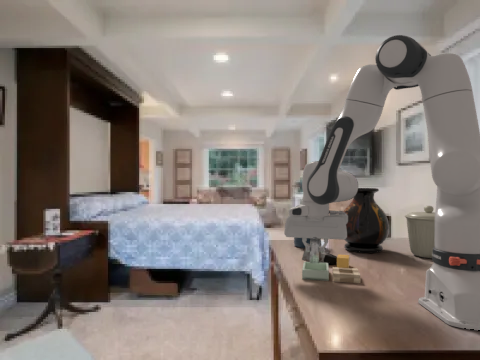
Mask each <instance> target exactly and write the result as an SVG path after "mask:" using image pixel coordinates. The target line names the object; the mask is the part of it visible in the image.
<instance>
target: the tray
mask: <svg viewBox="0 0 480 360" xmlns="http://www.w3.org/2000/svg"><path fill="white" fill-rule="evenodd" d="M302 265H303V266H302V269H301V271H302V272H301V273H302V274H301V278H302V279H301V280H307V281H308V280H310V281H311V280H312V281H324V282H325V281H327V282H328V281H329V279H330V278H329V277H330V274H329V272H330V270H329V269H330V268H329V263H325V262H319V263H318V264H312V263H310V262H306V261H303V264H302Z"/></svg>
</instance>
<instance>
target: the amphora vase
mask: <svg viewBox="0 0 480 360" xmlns="http://www.w3.org/2000/svg"><path fill="white" fill-rule="evenodd" d="M379 191H380V190H379V188H377V187H358V192H357V194H356V195H355V197H354V198H352V199H351V202H350V203H349V204H348V205H347V206H346V207H345V208H344V209H343V210H342V211H343V212H345V213H346V214H347V215H348V223H347V224H346V228H347V238H346V239H345V240H344V241H345V242H346V243H344V248H345V249H346V250H347V251H349V252H354V253H360V254H361V253H362V254H375V253H380V252H382V251H383V250H384V247H383V246H382V245H381V244H383V243H384V242H385V241H386V239H387V238H388V237H389V235H390V225H389V220H388V217H387V215H386V213H385V211H384V210H383V209H382V207H381V206H379V204H378V203H377V202H376V201H375V193H378V192H379ZM343 214H344V213H343Z"/></svg>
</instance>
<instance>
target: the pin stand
mask: <svg viewBox="0 0 480 360" xmlns="http://www.w3.org/2000/svg"><path fill="white" fill-rule="evenodd" d="M332 281H333V282H334V283H336V282H337V283H338V282H339V283H353V284H361V273H360V271H359V269H358V268H356V267H355V268H354V267H353V268H351V267H349V268H337V266H335V267H334V266H332Z"/></svg>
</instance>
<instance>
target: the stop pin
mask: <svg viewBox="0 0 480 360" xmlns="http://www.w3.org/2000/svg"><path fill="white" fill-rule="evenodd" d="M319 245H320V239H318V238H317V237H313V238H310V263H312V264H318V263H320V261H319Z"/></svg>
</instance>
